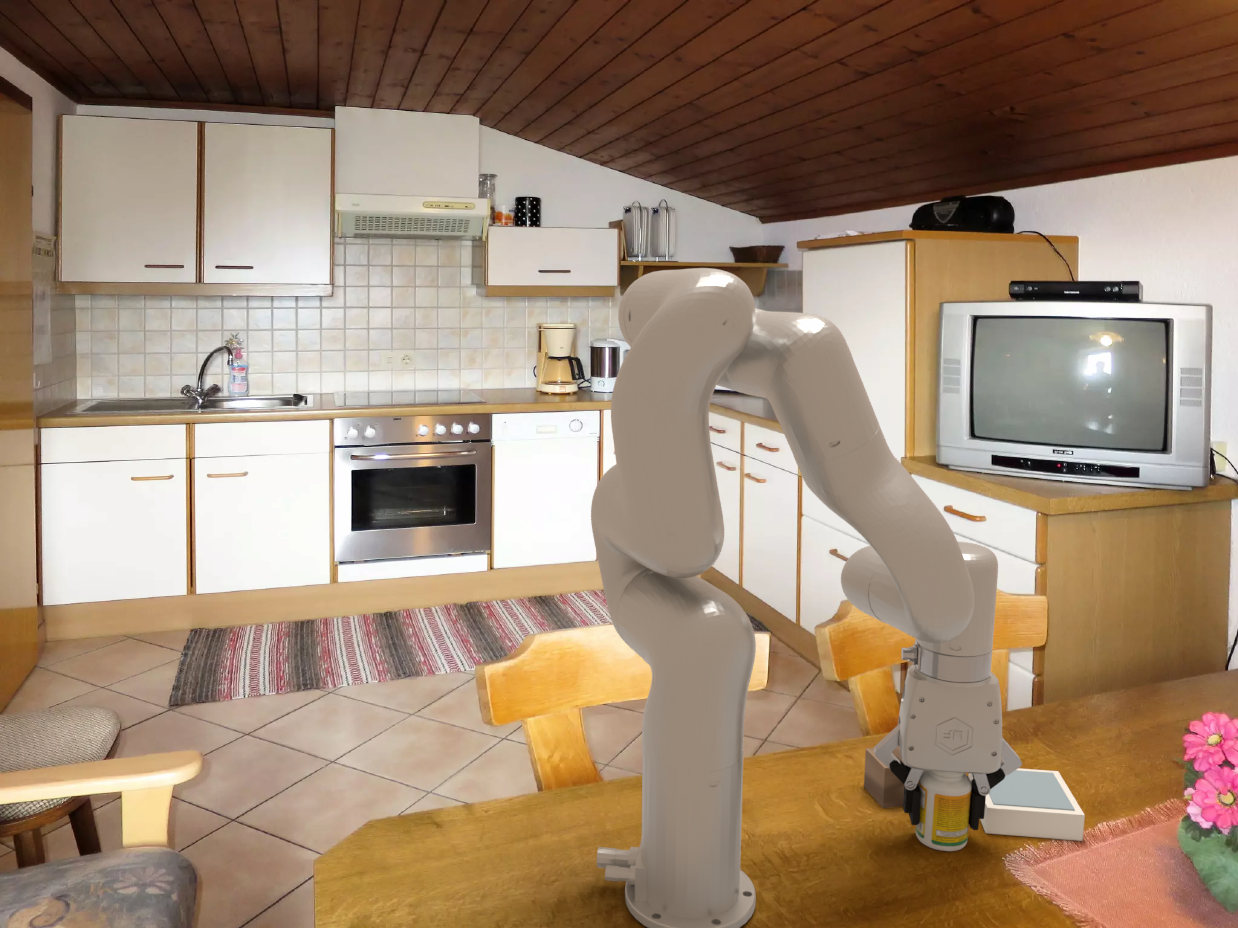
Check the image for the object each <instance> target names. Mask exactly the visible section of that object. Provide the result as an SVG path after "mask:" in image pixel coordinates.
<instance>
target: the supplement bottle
mask: <svg viewBox="0 0 1238 928" xmlns="http://www.w3.org/2000/svg"><path fill="white" fill-rule="evenodd" d="M919 788H920V791H921V799H920V815H919V824H917V825H915V835H916V837H917V839H918V841H919V842H920V843H921V844H923V845H924V846H926V847H928V848H931V849H933V850H936V851H944V852H955V851H959V850H962V849H964V847H965V846H966V845H967V843H968V838H969V837H968V836H969V828H970V825H969V814H970V802H971V789H972V784H971V781H970V779H969V775H967V773H957V772H943V771H930V770H923V772H922V775H921V777H920V779H919Z"/></svg>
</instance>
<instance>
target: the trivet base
mask: <svg viewBox="0 0 1238 928" xmlns="http://www.w3.org/2000/svg"><path fill="white" fill-rule="evenodd" d="M968 777H969V779H970V781H971V780H973V776H972V773H968ZM1085 820H1086V817H1085V813H1084V811H1083V810H1082V808H1081V806H1080V804H1079V803H1078V802H1077V800H1076V798H1075V796H1074V795H1073V794H1072V791H1071V790H1070V788H1069V787H1068V785H1067V783H1066V782H1065V780H1064V778H1063V776H1062V775H1061V773H1060V772H1059V771H1057V770H1048V769H1047V770H1044V769H1031V768H1018V769H1017V770H1015V771H1014V772H1012V773H1011V774H1009V775H1006V776H1005V778H1004V779H1003V780H1002V781H1001V782H1000V783H998V784H997V785H996V786H994V787H993V788H992V789H990V793H989V794H988V795H986V800H985V814H984V819H979V821H980V823H981V825H982V827H983V830H984V833H985V834H992V835H1003V836H1004V835H1006V836H1013V837H1014V836H1016V837H1027V838H1030V837H1031V838H1039V839H1040V838H1042V839H1054V840H1067V841H1079V842H1083V841H1084V839H1083V838H1084V828H1085Z"/></svg>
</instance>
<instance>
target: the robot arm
mask: <svg viewBox="0 0 1238 928" xmlns="http://www.w3.org/2000/svg"><path fill="white" fill-rule="evenodd" d="M754 299H755V298H754V296H753V294H752V291H751V289H750V288H749V286H748V285H747V283H745V281H744V280H742V279H741V277H739V276H737V275H735V274H734V273H732V272H729V271H725V270H724V269H723V270H722V269H719V268H718V269H717V268H711V267H710V268H708V267H698V268H697V267H696V268H695V267H693V268H684V269H683V268H682V269H663V270H657V271H652V272H649V273H646V274H643V275H642V276H640V277H638V279H636V280H634V281H633V282H632V283H631V284H630V285H629V286H628V287H627V289H626V290H625V292H624V293H623V295H622V297H621V300H620V302H619V306H618V324H619V330H620V332H621V334H622V337H623V339H624V340H625V341H626V344H627V345H629V347H630V348H629V350H628V352H627V354H626V355H625V357H624V359H623V360H622V361H623V362H622V363H621V366H620V368H619V370H618V373H617V376H616V378H615V382H614V386H613V389H612V393H611V395H612V396H611V402H610V405H611V406H610V423H611V432H612V439H613V445H614V454H615V463H616V464H614V465H612V466H611V467H610V468H608V470H607V471H606V472H605V473H604V474H603V475H602V477H601V478H600V479H599V481H598V483H597V484H596V487H595V489H594V492H593V496H592V500H591V505H590V506H591V507H590V522H591V530H592V536H593V541H594V542H593V543H594V547H595V552H596V557H597V563H598V567H599V572H600V577H601V582H602V587H603V592H604V596H605V597H604V598H605V601H606V606H607V610H608V614H609V617H610V619H611V622H612V626H613V627H614V629H615V632H616V633H617V635H618V636H619V637H620V639H621V640H622V641H623V642H624V643H625V644H626V645H627V646H628V647H629V648H630V649H631V650H633V652H635V653H636V654H637V655H638V656H639V657H641V658H642V660H643V661H644V662H645V663H646V664H647V665H649V666H650V670H651V684H650V688H649V692H648V695H647V699H646V702H645V706H644V710H643V717H642V726H641V751H642V755H641V756H642V762H641V764H642V765H641V766H642V767H641V768H642V772H641V777H642V778H641V784H642V785H641V787H642V788H641V839H640V843H639V847H637V846H630V848H629V849H617V848H615V847H603V846H598V848H597V852H596V854H597V855H596V868H599V869H605V871H604V880H605V881H610V882H625V888H624V899H625V905H626V907H627V909H628V911H629V913H630V914H631V915H632V917H634V919H635V920H636V921H638V922H639V923H640V924H642V925H643V926H645V928H741V927H742V926H743V925H745V924H746V923H747V922H748V921H749V920H750V919H751V918H752V915H753V914H754V911H755V910H756V901H757V897H756V894H757V893H756V888H755V886H754V883H753V881H752V880H751V879H750V877H749V876H748V875H747V874H746V873H745V872H744V871H743V869H741V854H742V853H741V851H742V848H741V847H742V819H743V815H742V814H743V786H744V784H743V781H744V780H743V778H744V777H743V776H744V774H743V773H744V738H745V737H744V736H745V735H744V734H745V732H744V731H745V717H746V715H745V714H746V706H747V697H748V692H749V691H748V690H749V686H750V681H751V679H752V674H753V670H754V669H753V668H754V665H755V660H756V659H755V658H756V651H757V650H756V647H757V644H756V635H755V634H756V633H755V630H754V628H753V625H752V622H751V620H750V618H749V616H748V615H747V613H746V612H745V610H744V609H743V608H742V606H741V605H740V604H739V603H738V602H737V601H736V600H735V599H734V598H733V597H732V596H730V595H729V594H728V593H727V592H725V591H724V590H722V589H720V588H718V587H717V586H715V585H713V584H712V583H710V582H708V581H707V580H705V579H703V578H702V577H701V578H700V577H698V576H699V575H702V574H703V573H705V572H706V571H708V570H709V569H710V568H711V567H712V566H714V564H715V563H716V562H717V560H718V559H719V556H720V555H721V552H722V549H723V546H724V541H725V523H724V515H723V510H722V509H723V507H722V503H721V498H720V492H719V486H718V481H717V475H716V473H717V472H716V468H715V462H714V457H713V451H712V443H711V432H710V417H709V416H710V405H711V402H712V398H713V394H714V392H715V389H716V386H719V387H721V388H725V389H727V390H731V391H734V392H738V393H741V394H744V395H748V396H752V397H758V398H763V399H767V400H768V401H769V404H770V405H771V408H772V410H773V412H774V415H775V417H776V419H777V421H778V423H779V425H780V427H781V430H782V432H783V434H784V437H785V439H786V441H787V444H788V446H789V448H790V450H791V452H792V455H793V458H794V460H795V462H796V465H797V468H798V469H799V473H800V474H801V476H802V477H801V478H802V479H803V481H804V483H805V485H806V486H807V488H808V489H809V490H810V491H811V492H812V494H814V495H815V496H816V498H817V499H819V501H821V503H822V504H824V505H825V506H826V507H827V508H828V509H829V510H831V512H832V513H834V514H835V515H836V516H838V517H839V518H840V519H842V520H843V521H845V522H846V523H847V524H848V525H849V526H851V528H853V529H854V530H855V531H856V532H857V533H858V534H859V535H861V537H862V538H863V539H864V540H865V541H866V542H867V543H868V545H867V546H864V547H862V548H860V549H858V550H857V551H855V552H854V553H853V554H851V555H850V556H849V558H848V559H847V560H846V562H845V564H844V565H843V567H842V570H841V573H840V574H841V575H840V584H841V588H842V592H843V593H844V596H845V598H846V599H847V600H848V601H849V603H850V604H852V606H854V607H855V608H856V609H858V611H861V612H862V613H863V614H865V615H867V616H869V617H871V618H874V619H875V620H878V621H880V622H882V623H884V624H887V625H889V626H891V627H893V628H895V629H897V630H899V631H901V632H903V633H904V634H906V635H908V636H910V637H913V638H914V639H915V640H914V643H913V644H912V646H909V647H901V651H900V652H901V655H900V656H901V657H900V658H901V660H902V661H908V662H910V663H912V664H911V665H910V666H909V667H908V671H907V672H906V677H905V680H904V685H903V690H902V695H901V702H900V707H899V713H898V721H897V725H896V726H895V727H894V728H893V729H892V730H891V731H890V732H888V733H887V734H886V735H885V736H884V737H883V738H882V739H881V740H880V741H878V743H877V744H875V745H874V747H873V748H874V752H875V756H876V757H877V758H878V759H879V760H880V761H881V762H882V763H883V764H884V765H886V766H887V767H888V768H889V769H890V770H891V771H892V773H893V774H894V775H895V776H896V777H897V778H898V779H899V780H900V781H901V782H902V783H903V784H904V796H903V806H902V810H903V814H908V816H909V820H910V824H911V825H912V826H916V825H917V824H919V815H920V799H921V791H920V788H919V785H918V781H919V779H920V777H921V775H922V772H923V770H930V771H943V772H957V773H965V774H969V773H972V776H973V780H971V784H972V789H971V802H970V814H969V828H970V829H972V831H978V830H979V827H980V819H984V814H985V800H986V795H988V794H989V793H990V789H992V788H993V787H994V786H996V785H997V784H998V783H1000V782H1001V781H1002V780H1003V779H1004V778H1005V776H1006V775H1009V774H1011V773H1012V772H1014V771H1015V770H1017V769H1018V768H1019V769H1021V767H1022V765H1023V762H1022V760H1021V758H1020V757H1019V755H1018V754H1017V753H1016V751H1015V750H1014V749H1013V748H1012V747H1011V746H1010V744H1009V743H1008V742H1007V741H1006V739H1004V737H1003V713H1002V712H1003V711H1002V697H1001V696H1002V695H1001V688H1000V681H999V679H998V677H997V676H996V675H995V674H994V673H993V672H992V658H993V648H994V647H993V646H994V631H995V617H996V605H997V604H996V601H997V588H998V577H999V576H998V574H999V563H998V558H997V556H996V554H995V553H994V552H993V551H992V550H991V549H989V548H987V547H986V546H983V545H981V544H976V543H973V542H965V541H958V539H957V538H956V536H955V534H954V531H953V530H952V528H951V526H950V525H949V523H948V521H947V520H946V518H945V516H944V515H943V514H942V513H941V511H940V509H939V508H938V507H937V505H936V504H935V503H934V502H933V500H932V499H931V498H930V497H929V496H928V495H927V493H926V492H925V491H924V489H922V487H921V486H920V485H919V484H918V483H917V481H916V480H915V479H914V477H913V476H912V475H911V473H910V472H909V471H908V470H907V469H906V467H904V466H903V465H902V464H901V462H900V461H899V459H897V458H896V456H894V454H893V453H892V451H891V449H890V447H889V445H888V443H887V441H886V440H887V439H886V438H885V435H884V433H883V431H882V428H881V426H880V423H879V421H878V417H877V415H876V413H875V410H874V408H873V405H872V402H871V400H870V398H869V395H868V393H867V390H866V388H865V385H864V383H863V380H862V378H861V376H860V373H859V369H858V367H857V365H856V363H855V361H854V357H853V356H852V355H853V354H852V351H851V350H850V347H849V346H848V345H849V344H848V343H847V341H846V338H845V336H844V335H843V333H842V331H841V330H840V329H839V328H838V326H837V325H836V324H834V323H833V322H832V321H831V320H829V319H827V318H826V317H823V316H821V315H817V314H813V313H808V312H796V311H795V312H792V311H790V312H789V311H769V310H764V309H760V308H757V307H756V303H755V300H754ZM898 746H899V748H900V756H901V759H902V761H903V762H902V761H901V760H900V759H899V758H898V757H896V756H894V755H893V753H892V751H893V750H894V749H896V748H897V747H898Z"/></svg>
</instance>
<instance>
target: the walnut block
mask: <svg viewBox="0 0 1238 928" xmlns="http://www.w3.org/2000/svg"><path fill="white" fill-rule="evenodd" d="M892 753H893V755H894V756H896V757H898V758H899V759H900V760H901V761H902V759H901V756H900V748H899V746H898V747H897V748H896V749H894V750H893V751H892ZM864 759H865V760H864V777H863V778H864V779H863V787H864V789H865V790H866V792H868V794H869V795H870V796H871V797H872V798H873V799H874V800H875V802H877V804H878V805H879V806H880V807H881V808H882V809H890V808H899V807H903V796H904V784H903V783H902V782H901V781H900V780H899V779H898V778H897V777H896V776H895V775H894V774H893V773H892V771H891V770H890V769H889V768H888V767H887V766H886V765H884V764H883V763H882V762H881V761H880V760H879V759H878V758H877V757H876V756H875V752H874V747H870V748H865V757H864ZM902 762H903V761H902ZM918 785H919V781H918Z"/></svg>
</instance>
